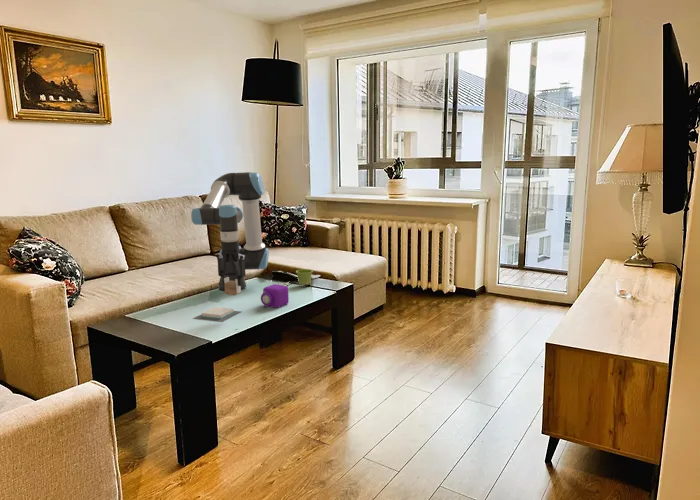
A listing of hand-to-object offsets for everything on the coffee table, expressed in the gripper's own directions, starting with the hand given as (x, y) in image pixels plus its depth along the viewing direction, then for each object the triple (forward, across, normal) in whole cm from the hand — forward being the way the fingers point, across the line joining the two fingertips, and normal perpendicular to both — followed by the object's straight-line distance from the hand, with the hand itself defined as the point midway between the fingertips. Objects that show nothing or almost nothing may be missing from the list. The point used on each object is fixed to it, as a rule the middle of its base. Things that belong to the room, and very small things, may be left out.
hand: (233, 292), depth 218 cm
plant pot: (+13, +6, +63) cm, 64 cm away
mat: (+12, -9, +1) cm, 15 cm away
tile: (+11, -14, +1) cm, 18 cm away
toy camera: (+13, +8, +22) cm, 27 cm away
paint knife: (+14, -3, +74) cm, 75 cm away
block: (0, 0, 0) cm, 0 cm away
